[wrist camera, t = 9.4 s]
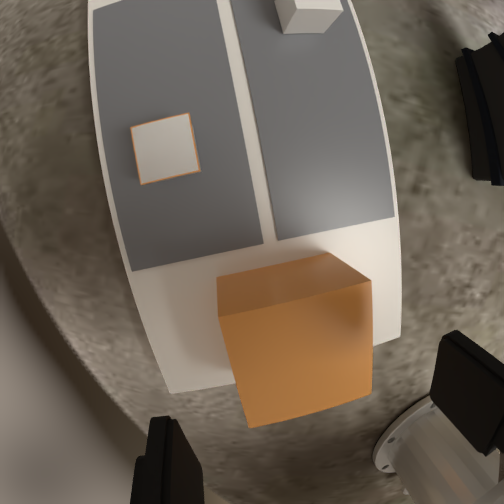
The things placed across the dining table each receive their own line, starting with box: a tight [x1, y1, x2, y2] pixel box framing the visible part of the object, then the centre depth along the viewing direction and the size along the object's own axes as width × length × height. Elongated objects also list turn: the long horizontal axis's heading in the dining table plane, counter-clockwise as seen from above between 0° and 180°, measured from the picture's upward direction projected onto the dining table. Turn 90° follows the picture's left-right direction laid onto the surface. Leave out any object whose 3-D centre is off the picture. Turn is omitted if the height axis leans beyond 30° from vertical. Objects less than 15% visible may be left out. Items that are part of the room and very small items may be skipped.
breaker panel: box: [88, 0, 402, 394], centre depth 16 cm, size 28×16×3 cm, turn 10°
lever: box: [274, 0, 344, 34], centre depth 12 cm, size 2×2×3 cm
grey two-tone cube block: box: [130, 113, 201, 185], centre depth 13 cm, size 2×2×3 cm
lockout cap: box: [216, 253, 373, 428], centre depth 15 cm, size 6×6×5 cm
